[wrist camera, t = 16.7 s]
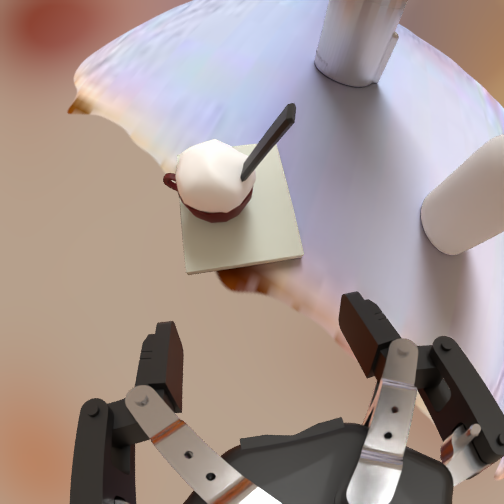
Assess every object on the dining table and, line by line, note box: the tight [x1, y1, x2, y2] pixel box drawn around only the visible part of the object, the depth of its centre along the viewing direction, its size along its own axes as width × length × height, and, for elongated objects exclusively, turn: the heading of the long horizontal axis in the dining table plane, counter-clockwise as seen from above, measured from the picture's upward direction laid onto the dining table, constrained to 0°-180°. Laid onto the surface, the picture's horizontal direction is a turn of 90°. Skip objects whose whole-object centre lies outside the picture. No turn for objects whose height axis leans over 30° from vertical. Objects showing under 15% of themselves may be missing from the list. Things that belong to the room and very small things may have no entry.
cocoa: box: [163, 103, 296, 223], centre depth 19 cm, size 10×6×12 cm, turn 59°
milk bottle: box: [421, 134, 504, 255], centre depth 17 cm, size 8×8×20 cm
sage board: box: [177, 144, 304, 275], centre depth 25 cm, size 10×12×1 cm
